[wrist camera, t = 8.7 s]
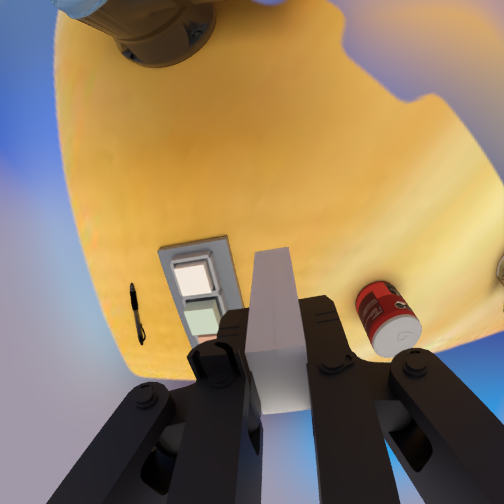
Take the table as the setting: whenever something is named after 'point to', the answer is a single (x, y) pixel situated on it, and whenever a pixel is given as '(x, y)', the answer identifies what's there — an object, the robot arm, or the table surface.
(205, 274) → the key ivory
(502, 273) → the ceramic cup
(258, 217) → the table surface
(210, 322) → the key green
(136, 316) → the pen
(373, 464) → the robot arm
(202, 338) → the key terracotta
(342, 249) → the table surface
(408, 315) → the canned food
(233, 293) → the keypad
